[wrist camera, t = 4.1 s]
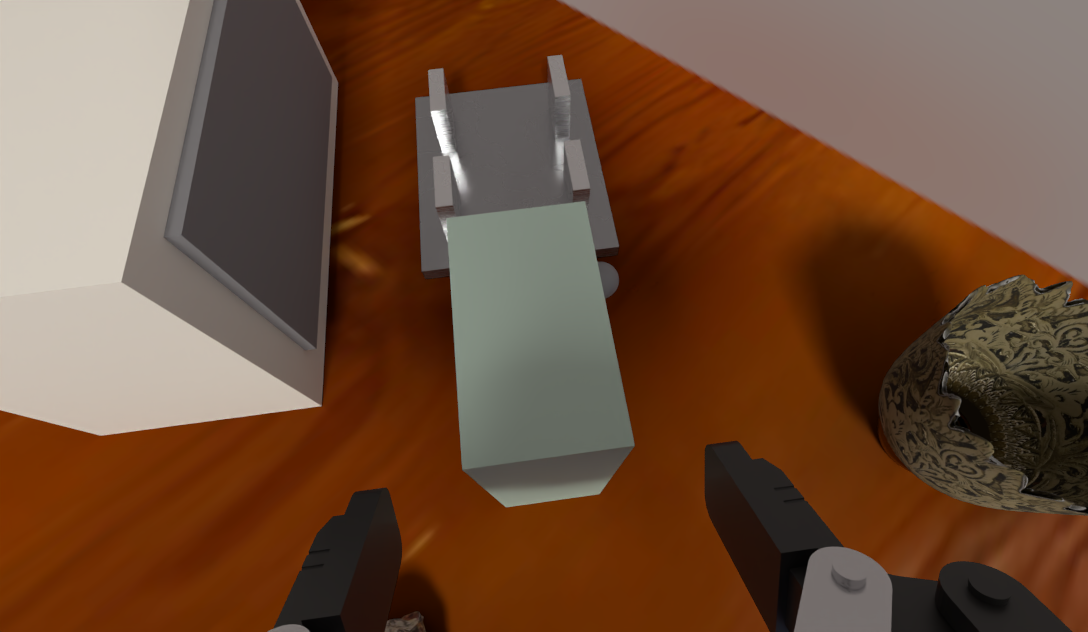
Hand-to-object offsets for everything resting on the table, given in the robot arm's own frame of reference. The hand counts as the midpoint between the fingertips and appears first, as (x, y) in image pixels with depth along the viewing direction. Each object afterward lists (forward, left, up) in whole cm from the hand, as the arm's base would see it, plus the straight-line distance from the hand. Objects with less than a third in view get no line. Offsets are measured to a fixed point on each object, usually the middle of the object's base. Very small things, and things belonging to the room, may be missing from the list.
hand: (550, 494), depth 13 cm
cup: (+16, +1, -10) cm, 19 cm away
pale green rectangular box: (0, +4, -9) cm, 10 cm away
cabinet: (-15, +17, -9) cm, 24 cm away
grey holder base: (0, +18, -9) cm, 20 cm away
